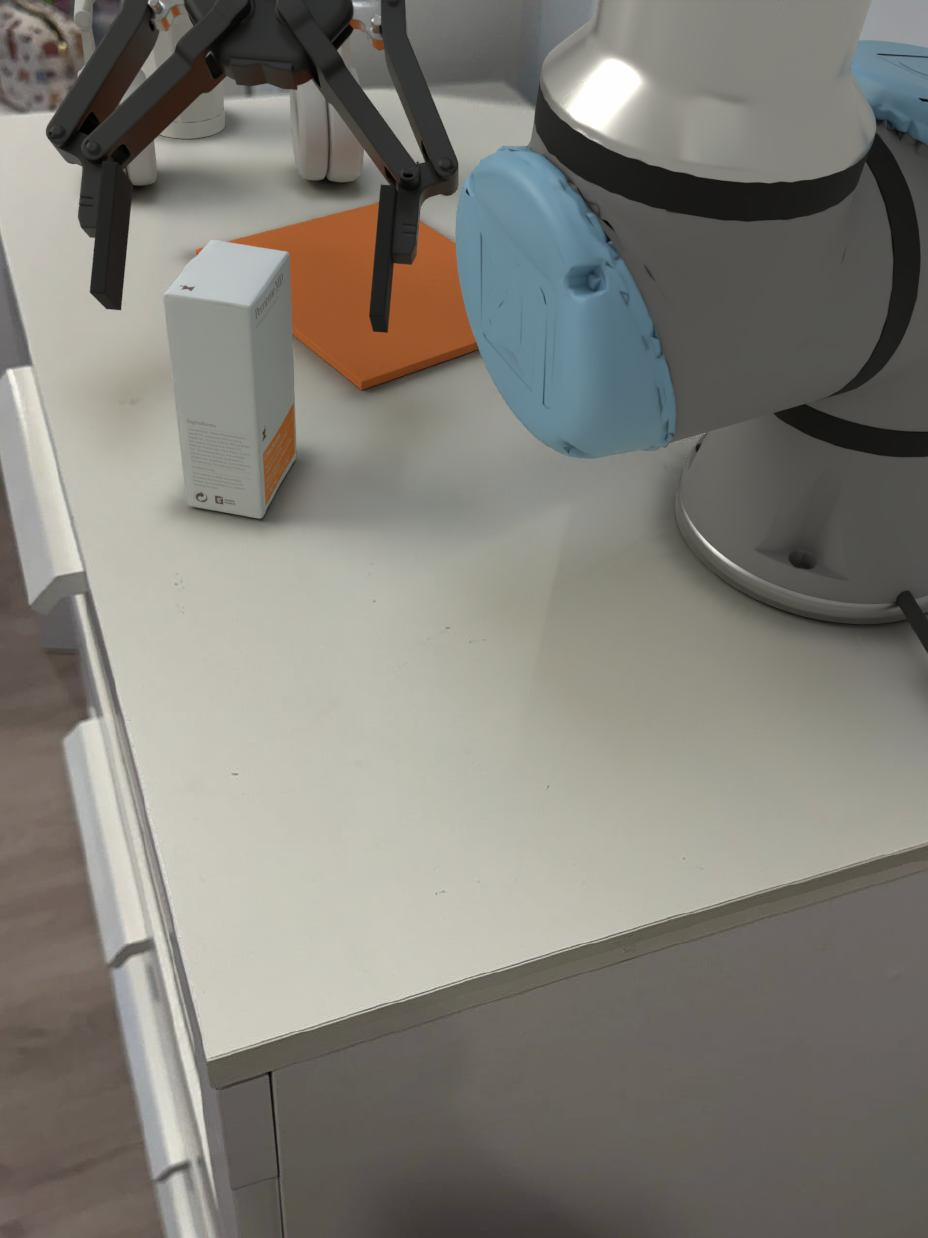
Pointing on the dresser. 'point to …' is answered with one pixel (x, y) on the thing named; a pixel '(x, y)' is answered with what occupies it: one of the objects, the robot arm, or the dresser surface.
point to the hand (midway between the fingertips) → (242, 313)
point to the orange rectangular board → (341, 292)
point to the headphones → (313, 123)
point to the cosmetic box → (233, 375)
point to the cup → (207, 108)
